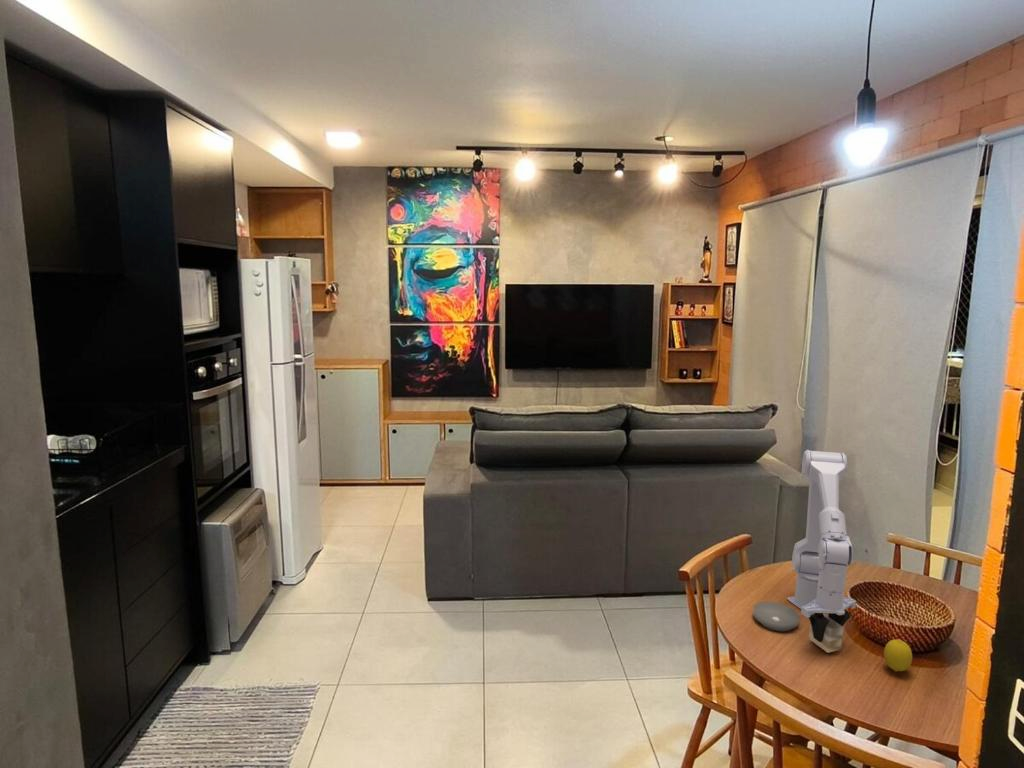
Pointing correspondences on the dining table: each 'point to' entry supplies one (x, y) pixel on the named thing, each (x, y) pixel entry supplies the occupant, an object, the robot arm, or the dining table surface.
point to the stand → (776, 616)
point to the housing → (829, 636)
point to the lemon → (898, 655)
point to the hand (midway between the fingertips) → (825, 638)
